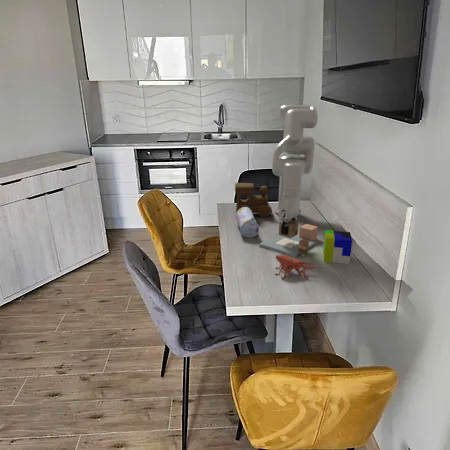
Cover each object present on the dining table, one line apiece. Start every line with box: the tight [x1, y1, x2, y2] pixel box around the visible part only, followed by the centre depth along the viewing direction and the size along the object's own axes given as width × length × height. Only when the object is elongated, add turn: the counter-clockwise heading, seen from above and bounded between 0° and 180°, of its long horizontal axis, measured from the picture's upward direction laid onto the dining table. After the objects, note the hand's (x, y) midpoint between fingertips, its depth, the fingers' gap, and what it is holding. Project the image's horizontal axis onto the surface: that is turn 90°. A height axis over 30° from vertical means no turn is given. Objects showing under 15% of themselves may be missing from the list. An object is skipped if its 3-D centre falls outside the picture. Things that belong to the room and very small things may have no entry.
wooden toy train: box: [234, 182, 273, 218], centre depth 215 cm, size 20×11×17 cm, turn 89°
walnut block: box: [278, 220, 300, 238], centre depth 174 cm, size 6×6×6 cm
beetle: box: [274, 245, 316, 280], centre depth 150 cm, size 15×12×13 cm
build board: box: [258, 233, 317, 258], centre depth 177 cm, size 18×18×1 cm
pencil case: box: [235, 207, 260, 238], centre depth 193 cm, size 21×9×10 cm, turn 5°
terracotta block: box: [298, 223, 319, 242], centre depth 184 cm, size 6×6×6 cm
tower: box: [298, 239, 310, 257], centre depth 167 cm, size 3×3×6 cm
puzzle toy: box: [322, 229, 353, 265], centre depth 164 cm, size 10×10×10 cm
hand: (288, 231), depth 175 cm, fingers closed on walnut block, 6 cm apart
